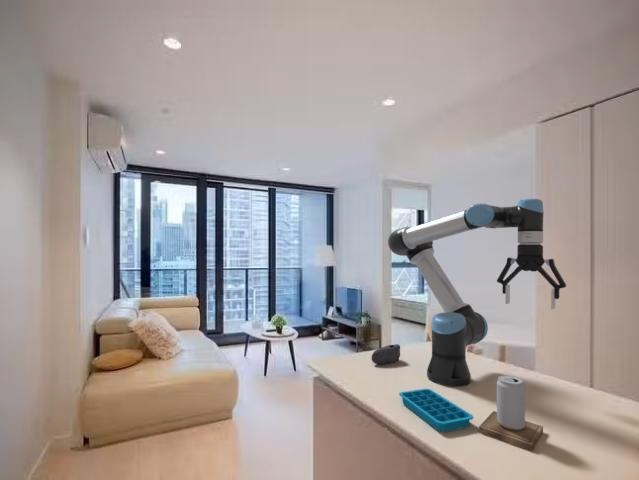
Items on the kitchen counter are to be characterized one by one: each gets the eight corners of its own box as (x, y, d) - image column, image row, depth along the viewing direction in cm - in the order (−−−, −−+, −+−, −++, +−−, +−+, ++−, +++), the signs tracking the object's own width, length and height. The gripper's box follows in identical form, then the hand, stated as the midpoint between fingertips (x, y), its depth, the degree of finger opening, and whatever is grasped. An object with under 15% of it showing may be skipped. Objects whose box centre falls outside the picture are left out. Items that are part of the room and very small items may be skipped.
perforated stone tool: (375, 367, 137) (375, 350, 137) (367, 363, 142) (367, 346, 142) (404, 362, 144) (404, 345, 144) (396, 358, 148) (396, 342, 148)
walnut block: (479, 432, 89) (479, 425, 89) (493, 416, 97) (493, 410, 97) (532, 451, 80) (532, 444, 80) (543, 432, 89) (543, 425, 89)
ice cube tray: (428, 397, 110) (428, 388, 110) (475, 428, 91) (475, 417, 91) (397, 402, 106) (397, 392, 106) (439, 436, 87) (439, 424, 87)
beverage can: (529, 433, 85) (528, 385, 85) (501, 430, 86) (501, 382, 87) (519, 420, 91) (519, 375, 92) (493, 418, 93) (493, 373, 93)
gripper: (487, 243, 123) (487, 302, 123) (573, 244, 106) (573, 312, 106) (494, 244, 129) (493, 300, 128) (576, 244, 112) (576, 309, 111)
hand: (529, 306), depth 117 cm, fingers open, 13 cm apart
